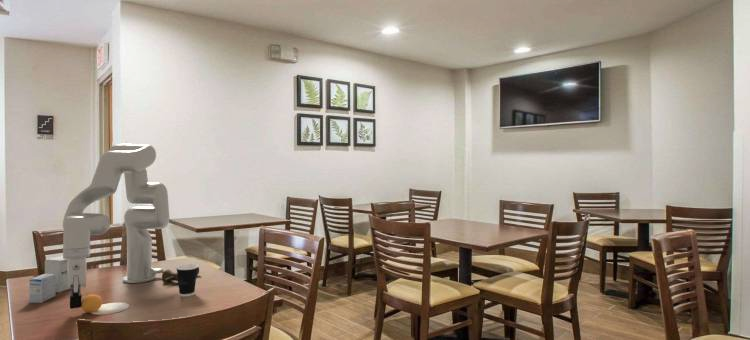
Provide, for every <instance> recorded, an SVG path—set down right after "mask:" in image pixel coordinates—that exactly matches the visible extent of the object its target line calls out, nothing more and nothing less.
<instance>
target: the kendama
mask: <svg viewBox="0 0 750 340" xmlns="http://www.w3.org/2000/svg"><path fill="white" fill-rule="evenodd" d="M199 274H200V268H199V266H198V267H197V275H196V276H198V275H199ZM161 280H162V283H165V282H167V283H170V282H173V281H174V282H175V281H176V282H178V276H177V272H175V271H174V272H173V271H172V270H170V269H166V270H164V272H163V273H161Z"/></svg>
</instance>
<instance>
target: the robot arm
mask: <svg viewBox="0 0 750 340" xmlns="http://www.w3.org/2000/svg"><path fill="white" fill-rule="evenodd" d="M156 158H157V152H156V149H155V147H153V146H152V145H150V144H142V143H141V144H140V143H139V144H136V143H134V144H132V143H119V144H113V145H112V146H111V147H110V148H109V150H108V151H105V152H104V153H102V155H101V156H100V158H99V161H98V163H97V166H96V169H95V172H94V175H93V177H92V179H91V182H90V185H89V186H87V187H86V188H85V189H83V190H81V192H79V193H78V194H77V195H76V196H75V197H74V198H73V199H72V200H71V201H70V202H69V204H68V205H67V209H66V212H65V213H64V216H63V220H62V228H63V232H62V233H63V235H62V237H63V239H62V244H63V245H62V256H63V259H67V277H68V287H69V289H68V290H70V295H69V309H71V310H72V309H73V310H74V309H79V308H82V307H81V303H82V300H83V299H82V296H83V295H82V293H81V292H82V288H83V289H85V288H86V287H87V258H89V257H90V256H91V236H92V235H93V236H95V235H96V236H99V235H103V234H105V233H107V232H108V231H109V230H110V228H111V219H110V218H109V216H108V215H106V214H104V213H93V212H92V213H89V212H88V213H86V212H84V211H85V209H86V208H87V207H88V206H90V205H91V204H93V203H95V202H97V201H100V200H103V199H105V198H107V197H110V196H112V195H114V194H115V193H116V192H117V190H118V187H119V183H120V180H121V178H122V174H123V175H124V185H125V193H126V199H127V202H128V203H129V204H132V205H149V206H133V207H129V208H128V209H127V210H126V211H125V213H124V217H123V218H124V220H123V221H124V224H125V231H126V276H124V277H122V282H123V283H127V284H139V283H146V282H151V281H153V280H155V279H156V278H157V277H156V276H157V274H163V272H164V271H165V270H164V268H160V267H159V268H154V267H153V265H152V264H153V263H152V259H153V257H152V255H153V254H152V253H153V246H152V245H153V240H152V235H151V233H150V232H149V230H162V229H165V228H167V227H168V225H169V222H170V208H169V207H170V206H169V205H170V204H169V193H168V189H167V187H166V185H165V184H164V183H162V182H157V181H156V182H155V181H153V182H151V181H149V180H148V171H147V168H149V167H150V166H152V165H153V164H154V163H155V160H156ZM150 205H152V206H150ZM83 212H84V213H83Z"/></svg>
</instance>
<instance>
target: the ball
mask: <svg viewBox="0 0 750 340" xmlns="http://www.w3.org/2000/svg"><path fill="white" fill-rule="evenodd" d="M102 304H103V299H102V297H101V296H100V295H98V294H94V293H93V294H89V295H86V296H85V297H84V298H83V299H81V307H80V308H81V309H82V311H84V312H85V313H89V314H91V312H95V311H97V310H98V309H99V308H100V307H101V305H102Z"/></svg>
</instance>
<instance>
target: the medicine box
mask: <svg viewBox="0 0 750 340" xmlns="http://www.w3.org/2000/svg"><path fill="white" fill-rule="evenodd" d="M55 279H56V275H55V274H45V273H43V274H40V275H37V276H35V277H33V278H30V279H29V298H28V299H29V304H42V303H45V301H48V300H50V299H52V298H54V297H56V292H55V282H56V281H55Z"/></svg>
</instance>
